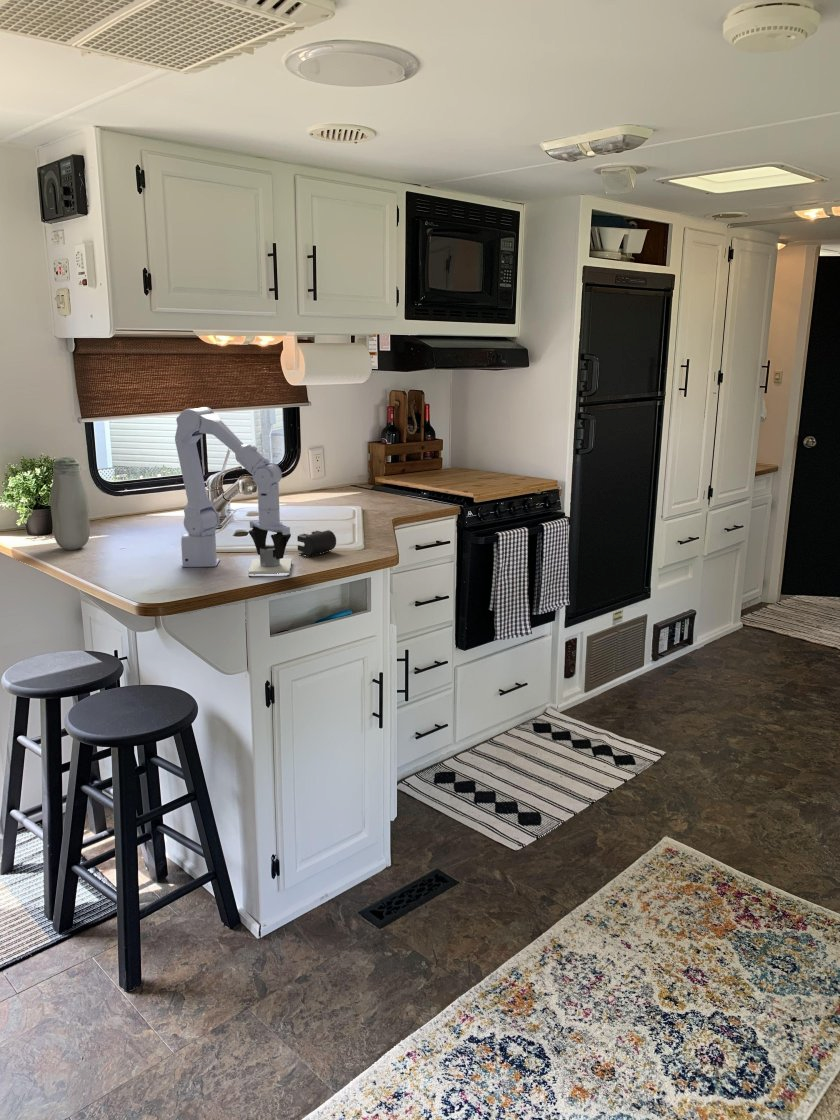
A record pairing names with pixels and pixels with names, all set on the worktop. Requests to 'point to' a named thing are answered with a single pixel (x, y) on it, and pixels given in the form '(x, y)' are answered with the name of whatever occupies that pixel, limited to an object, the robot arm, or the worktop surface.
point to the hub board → (282, 568)
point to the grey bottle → (69, 505)
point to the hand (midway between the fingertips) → (270, 556)
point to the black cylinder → (316, 542)
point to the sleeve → (268, 556)
